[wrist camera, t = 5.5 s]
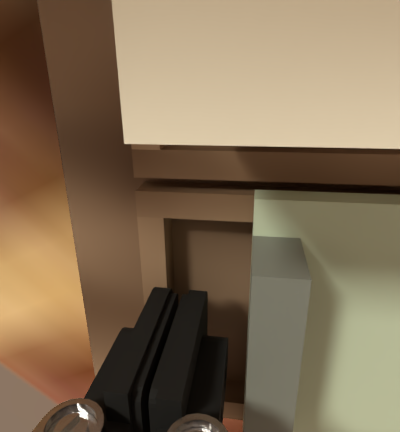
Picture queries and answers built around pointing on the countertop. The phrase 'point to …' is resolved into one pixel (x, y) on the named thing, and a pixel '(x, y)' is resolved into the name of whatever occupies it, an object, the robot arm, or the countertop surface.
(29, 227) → the countertop surface
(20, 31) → the countertop surface
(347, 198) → the lid
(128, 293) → the board
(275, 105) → the block
